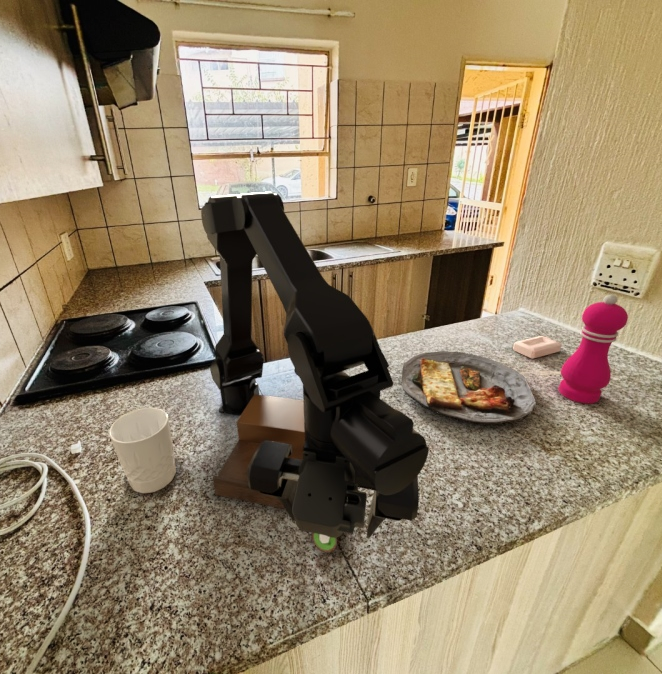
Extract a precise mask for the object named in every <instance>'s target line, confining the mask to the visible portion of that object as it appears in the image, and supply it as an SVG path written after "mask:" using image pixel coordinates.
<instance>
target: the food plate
mask: <svg viewBox="0 0 662 674" xmlns="http://www.w3.org/2000/svg"><path fill="white" fill-rule="evenodd" d="M400 385H401V388H402V391H404V393H405V395H407V396H408V397H409V398H411V399H412V400H414V401H415V402H416V403H418V404H419V405H421V406H422V407H423V408H425V409H428V410H430V411H432V412H434V413H436V414H438V415H442V416H445V417H449V418H453V419H457V420H462V421H467V422H472V423H476V424H479V425H480V424H481V425H482V424H483V425H488V424H489V425H497V424H503V423H510V422H520V421H521V420H524V419H526V418H527V417H529V416H530V415H531V414H532V411H533V412H534V411H535V409H536V405H537V402H536V399H535V397H534V395H533V392H532V390H531V388H530V386H529V383H528V382H527V379H526V378H525V376H524V375H523V374H522V373H520V372H519V371H518V370H515V369H514V368H511V366H507V365H505V364H502V363H501V362H498V361H497V360H494V359H492V358H489V357H486V356H483V355H477V354H473V353H472V352H471V353H469V352H463V351H449V350H438V351H426V352H421V353H418V354H414V355H412V356H411V357H409V358H408V359H407V360H405V361H404V362H403V363H402V370H401V380H400Z"/></svg>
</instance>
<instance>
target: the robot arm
mask: <svg viewBox="0 0 662 674" xmlns="http://www.w3.org/2000/svg"><path fill="white" fill-rule="evenodd" d="M200 215H201V223H202V227H203V230H204V232H205V234H206V238H207V240H208V241H209V243H210V244H211V246H212V247H213V249H214V250H215V252H216V253H217V254H218V256H219V269H220V270H219V271H220V287H221V289H220V290H221V305H222V306H221V307H222V326H223V327H222V328H223V334H222V335H221V337H220V339H219V340H218V341H217V343H216V345H215V346H214V359H213V360H212V362H211V365H210V368H209V371H210V374H211V379H212V381H213V382H214V384H215V386H216V387H217V389H218V390H219V392H220V393H219V394H220V398H221V406H220V407H219V408H218V412H219V413H220V414H228V415H233V416H234V415H235V416H239V417H240V416H241V414H242V413H243V411H244V410H245V408H246V407H247V405H248V403H249V402H250V400H251V399H252V397H253V396H254V394H256V395H260V387H259V383H257V382H256V379H261V378H262V377H263V371H264V354H263V353H262V351H261V348H260V347H259V346H258V345H257V343H256V341H255V340H254V338H253V261H254V259H255V258H256V256H257V257H258V259H259V261H260V262H261V265H262V267H263V269H264V271H265V273H266V275H267V277H268V278H269V281H270V282H271V285H272V286H273V289H274V290H275V292H276V294H277V297H278V298H279V300H280V302H281V304H282V307H283V309H284V311H285V322H284V328H283V336H284V339H285V342H286V344H287V353H288V356H289V359H290V361H291V364H292V366H293V368H294V370H293V371H294V374H295V375H296V376H297V377H299V379H300V382H301V383H302V400H303V402H304V431H305V443H304V446H303V459H302V460H298V459H292V458H288V456H290V455H291V454H292V445H291V444H285V443H279V442H273V441H266V440H264V441H263V442H261V443H260V444H259V446H258V448H257V450H256V452H255V454H254V456H253V458H252V460H251V462H250V464H249V466H248V470H247V481H248V486H249V487H250V489H252V490H257V491H259V492H260V493H261V494H264V495H269V496H274V497H277V498H278V499H279V501H280V502H281V503H282V505H283V506H284V508H285V509H284V510H285V512H286V513H287V514H288V516H289V517H290V519H291V521H292V522H295V524H296V526H297V528H298V529H299V530H300V531H302V532H304V533H305V532H306V533H311V534H313V533H317V534H322V535H326V536H328V537H332V538H339V537H341V536H342V535H343V533H344V534H349V535H354V530H355V529H356V528H360V529H363V528H365V520H366V511H367V510H366V509H367V499H368V498H367V495H368V494H367V492H366V491H361V490H359V488H360V489H364V490H365V489H366V490H371V491H373V494H372V500H371V504H370V508H369V511H368V512H369V513H368V517H367V529H366V537H367V538H371V537H372V536H373V534H374V533H375V532H376V531H377V529H378V528H379V527H380V525H382V523H383V522H384V521H386V520H391V521H396V522H400V521H402V520H405V521H410V522H412V521H413V520H415V519H417V518H418V513H419V512H418V511H419V505H420V501H419V500H420V495H419V492H420V491H419V475H420V473H421V471H422V470H423V469H424V467H425V464H426V461H427V460H428V456H429V450H430V449H429V446H428V445H427V444H428V443H427V440H426V439H425V437H424V435H422V434H421V433H419V432H418V431H417V430H415V429H414V425H415V423H414V421H413V418H411V417H409V416H408V415H406V414H405V413H404V412H402V411H400V410H397V409H396V408H394V407H392V406H391V405H389V404H388V403H386V402H385V400H383V399H381V391H384V390H386V389H389V388H392V387H393V386H394V381H393V378H392V376H391V373H390V371H389V367H390V364H389V362H388V360H387V359H386V357H385V355H384V353H383V350H382V349H381V347H380V344H379V342H378V339H377V337H376V333H375V331H374V329H373V326H372V324H371V323H370V321H369V319H368V318H367V316H366V315H365V314H364V312H363V311H362V309H360V307H359V305H357V304H356V302H355V301H354V300H353V299H352V298H351V296H350V295H348V294H346V293H345V292H343V291H341V290H339V289H337V288H335V287H334V286H331V284H329V283H328V282H327V281H326V279H325V278H324V277H323V275H322V273H321V272H320V271H321V270H319V268H318V266H317V264H316V263H315V260H313V258H312V257H311V256H312V255H311V254H310V253H309V252H308V250H307V248H306V246H305V244H304V242H303V241H302V239H301V237H300V236H299V234H298V233H297V231H296V229H295V228H294V225H293V224H292V223H291V221H290V219H289V217H288V215H287V214H286V213H285V206H284V202H283V199H282V196H281V195H280V194H278V193H275V192H272V191H265V192H249V193H240V194H227V195H215V196H210V197H208V199H207V202H206V201H205V203H204V205H202V207H201V211H200ZM363 365H364V366H365V368H366V369H367V370H365V371H361V372H359V373H357V374H353V375H349V374H348V373H346V371H348V370H350V369H353V368H356V367H359V366H363ZM344 371H345V372H344ZM297 481H298V484H297Z"/></svg>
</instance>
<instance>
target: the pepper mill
mask: <svg viewBox="0 0 662 674" xmlns="http://www.w3.org/2000/svg"><path fill="white" fill-rule="evenodd" d="M617 302H618V296H616V295H615V294H606V295H605V296H604V297H603V301H600V302H595V303H592V304H589V305H588V306H587V307H586V308H585V309H584V311H583V313H582V314H581V315H582V316H581V320H582V322H583V324H584V325H583V326H582V327H581V331H580V336H581V341H580V344H579V345H578V347H577V348H576V350H575V351H574V352H573V354H571V355H570V356H569V357H568V358H567V359H566V360H565V361H564V363H563V364H562V367H561V368H560V375H561V377H562V380H560V383H559V385H558V392H559V394H560V395H562V396H563V397H565V398H567V399H568V400H571V401H574V402H577V403H581V404H596V403H597V402H599V400H600V398H601V395H602V389H604V388H606V387H608V386H609V384H610V381H611V377H612V376H611V374H612V373H611V367H610V363H609V351H610V347H611V345H612V343H614V342H616V341H617V339H618V338H617V337H618V336H619V332H618V331H620V330H622V329H623V328H624V327H626V325H627V323H628V320H629V316H628V312H627V310H626V309H625V308H624V307H623V306H621V305H619V304H617Z"/></svg>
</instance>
